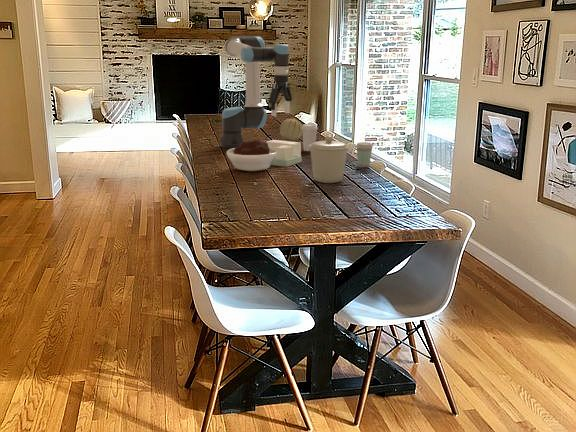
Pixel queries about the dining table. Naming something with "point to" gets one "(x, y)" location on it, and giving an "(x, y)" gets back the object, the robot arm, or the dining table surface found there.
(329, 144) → the canister
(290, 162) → the stub tray
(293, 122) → the cantaloupe
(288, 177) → the dining table surface
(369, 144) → the coffee cup
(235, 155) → the white serving bowl
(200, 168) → the dining table surface
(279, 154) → the stub
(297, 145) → the ticket bar
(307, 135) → the coffee cup
